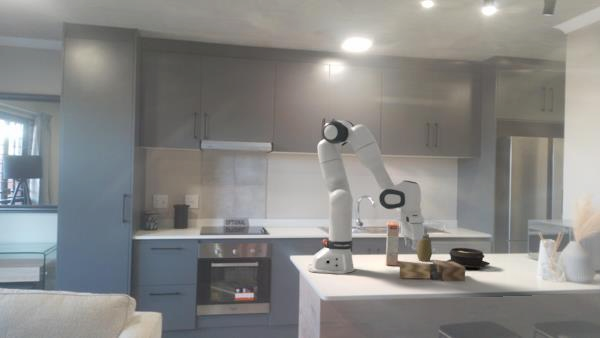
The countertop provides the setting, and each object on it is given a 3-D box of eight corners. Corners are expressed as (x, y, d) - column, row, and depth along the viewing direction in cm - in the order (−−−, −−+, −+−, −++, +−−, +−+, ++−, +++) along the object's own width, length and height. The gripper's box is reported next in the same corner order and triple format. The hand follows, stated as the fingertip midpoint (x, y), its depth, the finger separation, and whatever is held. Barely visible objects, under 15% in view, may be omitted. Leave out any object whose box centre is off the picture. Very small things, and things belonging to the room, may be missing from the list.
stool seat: (432, 280, 181) (432, 266, 181) (423, 273, 193) (423, 261, 193) (465, 280, 181) (465, 267, 181) (453, 274, 193) (453, 261, 193)
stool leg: (435, 277, 185) (435, 263, 185) (437, 278, 183) (437, 264, 183) (399, 276, 184) (399, 263, 184) (401, 278, 182) (401, 264, 182)
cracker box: (398, 266, 208) (399, 225, 208) (386, 265, 209) (386, 224, 209) (397, 260, 221) (398, 222, 222) (386, 260, 223) (386, 221, 223)
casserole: (461, 272, 198) (461, 255, 198) (434, 264, 215) (434, 248, 215) (499, 269, 207) (499, 252, 208) (470, 261, 224) (470, 246, 225)
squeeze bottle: (429, 262, 219) (430, 228, 219) (414, 260, 223) (415, 227, 223) (433, 260, 225) (434, 227, 226) (418, 258, 230) (419, 226, 230)
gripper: (397, 214, 194) (397, 244, 193) (411, 219, 173) (411, 252, 173) (410, 214, 194) (410, 244, 194) (425, 219, 174) (426, 252, 173)
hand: (411, 248), depth 183 cm, fingers open, 8 cm apart
